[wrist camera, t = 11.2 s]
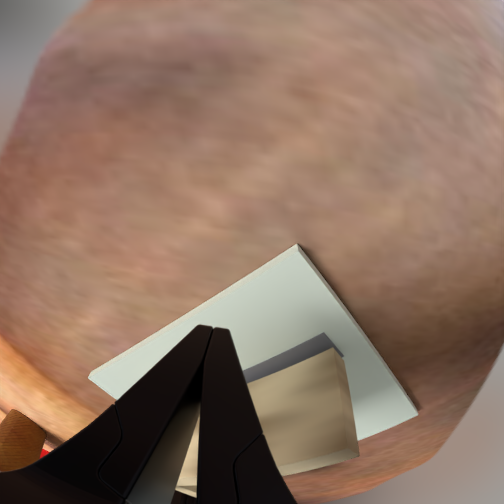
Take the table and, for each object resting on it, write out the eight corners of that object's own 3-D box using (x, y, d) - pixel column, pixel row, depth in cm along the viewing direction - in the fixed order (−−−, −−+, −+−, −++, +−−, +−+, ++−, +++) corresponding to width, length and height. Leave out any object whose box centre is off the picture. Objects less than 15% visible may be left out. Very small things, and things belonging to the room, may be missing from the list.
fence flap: (169, 422, 17) (148, 499, 12) (149, 408, 17) (123, 488, 11) (346, 361, 13) (365, 480, 8) (329, 340, 12) (346, 471, 7)
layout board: (416, 408, 17) (418, 415, 16) (242, 465, 22) (242, 471, 21) (297, 243, 11) (298, 251, 11) (91, 371, 17) (87, 378, 16)
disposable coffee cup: (26, 410, 24) (-9, 480, 14) (67, 448, 29) (42, 512, 18) (-7, 395, 26) (-40, 453, 15) (30, 433, 30) (5, 486, 19)
